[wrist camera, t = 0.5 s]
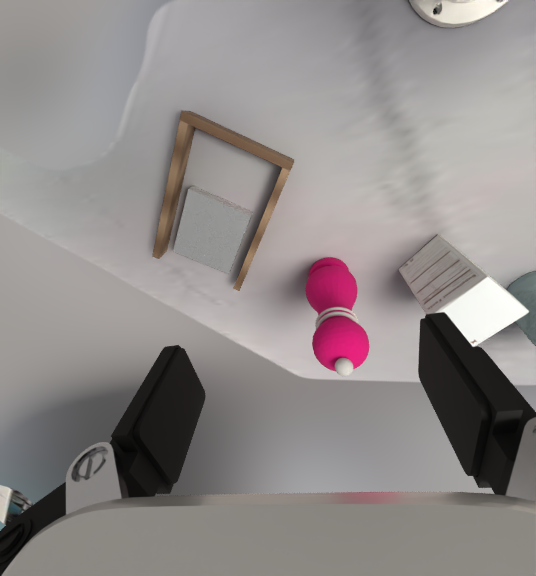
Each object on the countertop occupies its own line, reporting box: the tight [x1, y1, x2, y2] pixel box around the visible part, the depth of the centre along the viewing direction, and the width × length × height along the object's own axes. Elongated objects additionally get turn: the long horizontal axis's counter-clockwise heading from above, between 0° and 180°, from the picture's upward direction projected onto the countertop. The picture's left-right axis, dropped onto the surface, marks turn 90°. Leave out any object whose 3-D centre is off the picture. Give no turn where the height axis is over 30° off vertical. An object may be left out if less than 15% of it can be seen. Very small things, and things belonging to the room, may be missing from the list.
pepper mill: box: [306, 258, 369, 376], centre depth 36 cm, size 7×7×20 cm
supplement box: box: [399, 235, 529, 347], centre depth 36 cm, size 7×7×13 cm
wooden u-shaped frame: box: [153, 111, 294, 291], centre depth 39 cm, size 20×14×3 cm
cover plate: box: [173, 186, 253, 274], centre depth 42 cm, size 10×9×2 cm
